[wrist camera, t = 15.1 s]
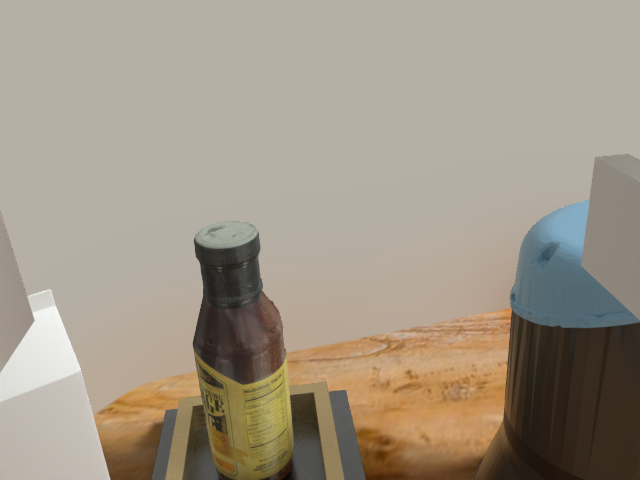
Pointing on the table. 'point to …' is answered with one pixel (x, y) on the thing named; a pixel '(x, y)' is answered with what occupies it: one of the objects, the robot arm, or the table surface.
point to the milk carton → (47, 406)
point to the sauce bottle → (241, 359)
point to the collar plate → (308, 433)
